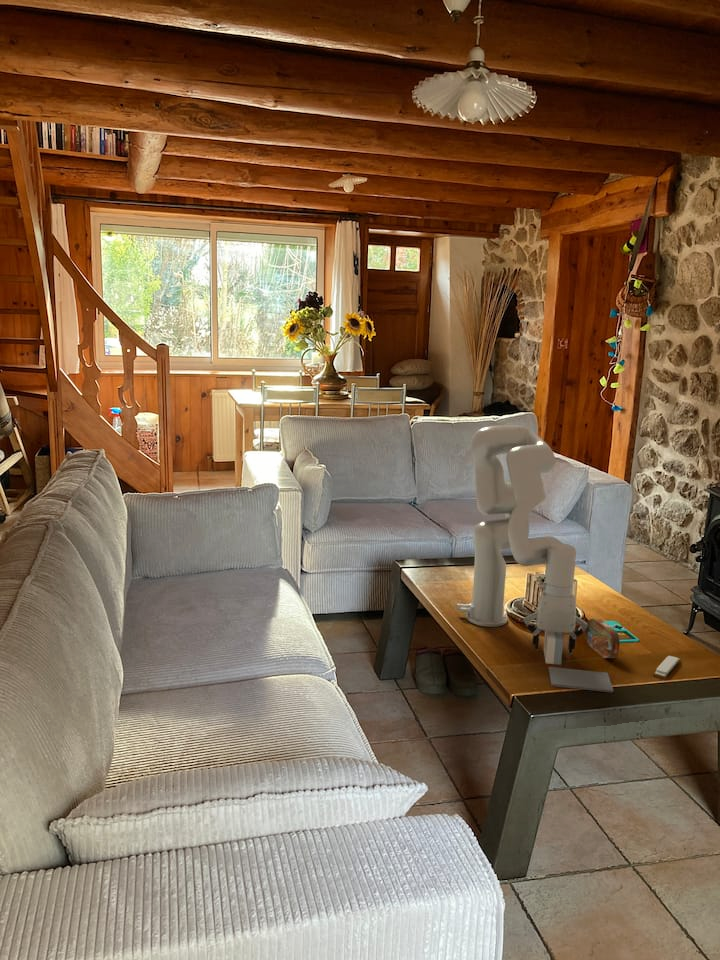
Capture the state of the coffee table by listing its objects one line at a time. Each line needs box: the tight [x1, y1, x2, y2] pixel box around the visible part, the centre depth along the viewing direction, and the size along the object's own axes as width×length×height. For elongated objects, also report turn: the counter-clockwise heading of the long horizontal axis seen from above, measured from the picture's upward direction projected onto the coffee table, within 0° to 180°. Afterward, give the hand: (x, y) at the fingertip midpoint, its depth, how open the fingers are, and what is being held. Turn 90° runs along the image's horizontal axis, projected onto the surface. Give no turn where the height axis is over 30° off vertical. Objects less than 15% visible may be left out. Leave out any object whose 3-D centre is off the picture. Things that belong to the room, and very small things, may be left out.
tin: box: [585, 618, 621, 659], centre depth 212 cm, size 15×3×8 cm, turn 10°
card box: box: [543, 631, 564, 666], centre depth 207 cm, size 4×9×7 cm, turn 170°
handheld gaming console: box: [603, 620, 640, 643], centre depth 227 cm, size 8×1×15 cm
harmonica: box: [652, 655, 681, 680], centre depth 203 cm, size 15×3×2 cm, turn 142°
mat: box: [548, 666, 614, 693], centre depth 194 cm, size 15×10×1 cm, turn 80°
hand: (553, 649), depth 207 cm, fingers open, 8 cm apart
